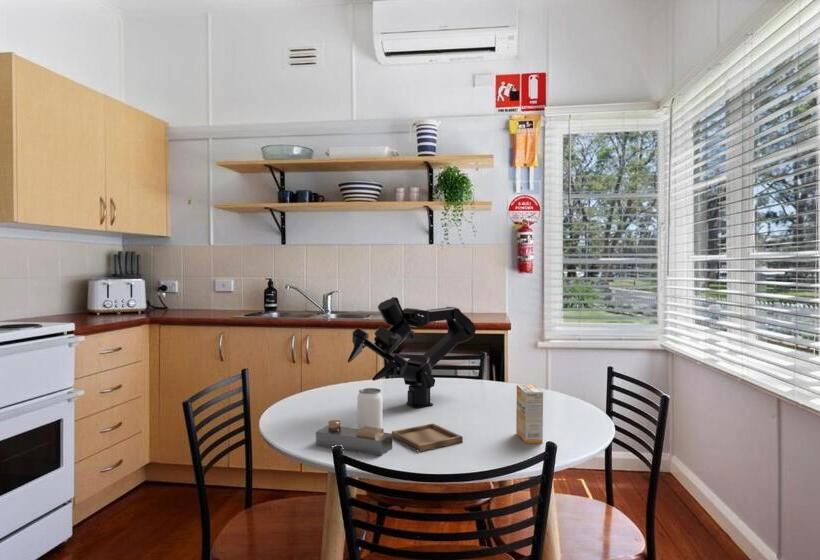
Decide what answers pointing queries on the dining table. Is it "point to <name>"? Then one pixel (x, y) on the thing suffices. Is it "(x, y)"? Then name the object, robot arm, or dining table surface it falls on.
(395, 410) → the dining table surface
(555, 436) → the dining table surface
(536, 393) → the supplement box
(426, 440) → the walnut tray
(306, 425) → the dining table surface
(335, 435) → the iron block
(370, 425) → the can
